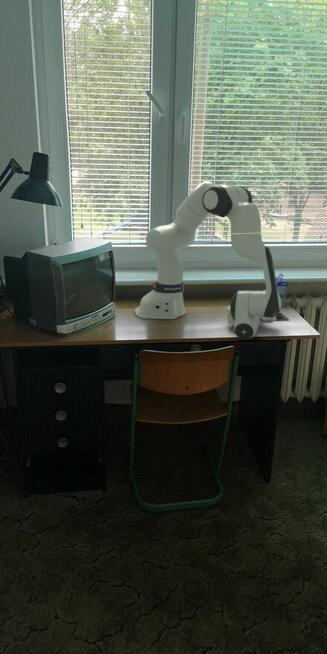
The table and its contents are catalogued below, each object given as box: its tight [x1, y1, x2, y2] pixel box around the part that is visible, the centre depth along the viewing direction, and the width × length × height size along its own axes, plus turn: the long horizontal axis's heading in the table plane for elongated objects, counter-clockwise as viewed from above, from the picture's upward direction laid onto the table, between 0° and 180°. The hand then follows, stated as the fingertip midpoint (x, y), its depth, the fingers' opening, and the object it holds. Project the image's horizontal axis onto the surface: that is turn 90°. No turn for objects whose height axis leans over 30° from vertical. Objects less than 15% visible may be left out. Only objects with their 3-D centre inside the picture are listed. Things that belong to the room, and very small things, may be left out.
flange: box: [275, 312, 290, 322], centre depth 214 cm, size 9×9×1 cm
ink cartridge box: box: [275, 273, 288, 308], centre depth 231 cm, size 10×6×14 cm, turn 10°
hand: (253, 308), depth 207 cm, fingers closed on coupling, 5 cm apart
